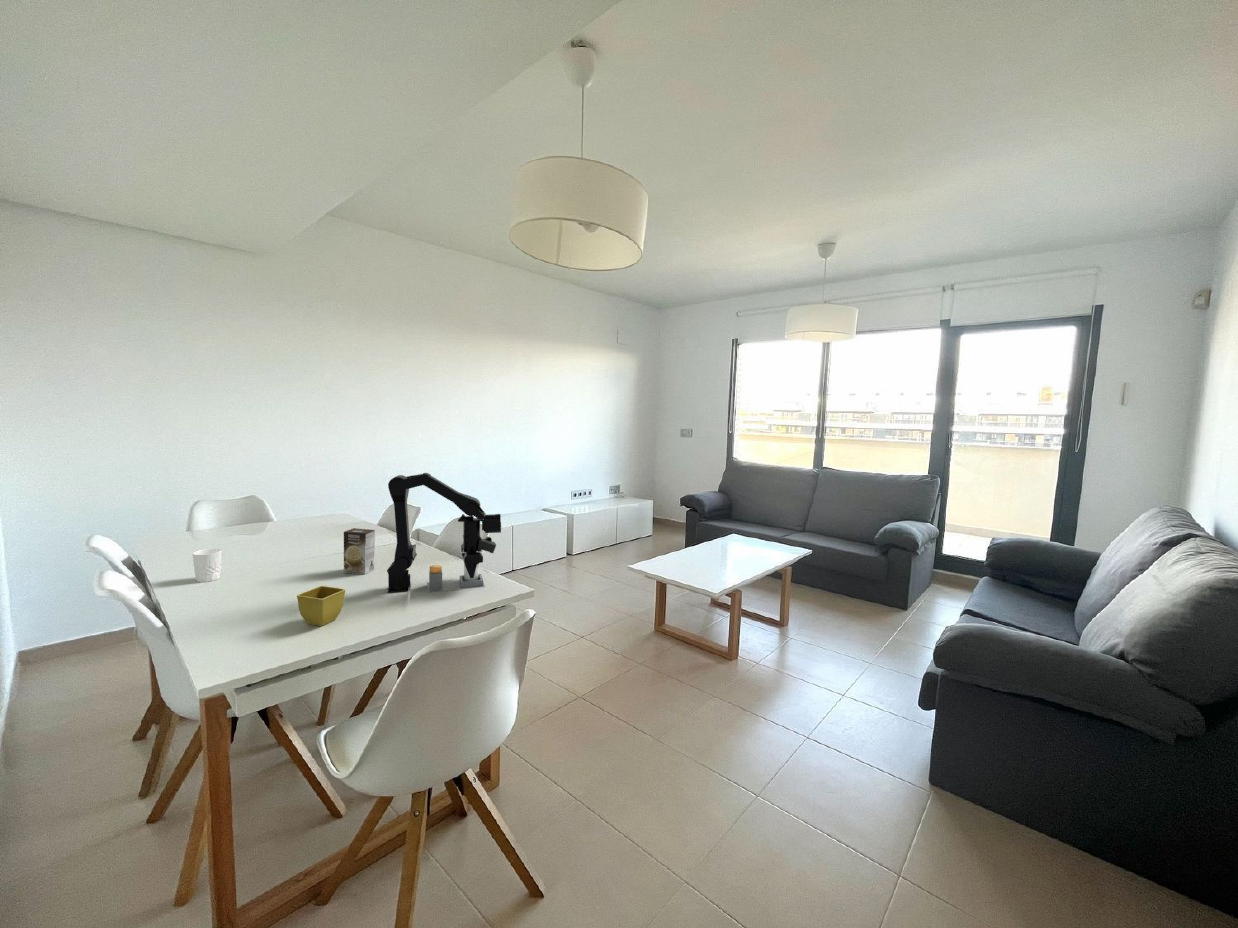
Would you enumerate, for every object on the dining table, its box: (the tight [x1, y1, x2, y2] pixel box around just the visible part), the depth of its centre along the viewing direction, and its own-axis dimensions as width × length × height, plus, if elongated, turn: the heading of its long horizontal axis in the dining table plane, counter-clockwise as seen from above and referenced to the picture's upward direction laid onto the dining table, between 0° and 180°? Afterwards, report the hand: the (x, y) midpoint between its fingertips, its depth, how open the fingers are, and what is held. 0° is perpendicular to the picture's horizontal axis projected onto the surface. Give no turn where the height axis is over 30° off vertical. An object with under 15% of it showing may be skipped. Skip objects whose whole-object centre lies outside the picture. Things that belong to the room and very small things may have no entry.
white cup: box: [192, 548, 223, 583], centre depth 170 cm, size 8×8×10 cm
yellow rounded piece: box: [429, 564, 443, 573], centre depth 168 cm, size 4×4×6 cm
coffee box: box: [343, 527, 376, 575], centre depth 184 cm, size 9×6×16 cm
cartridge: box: [463, 563, 480, 581], centre depth 172 cm, size 5×5×9 cm
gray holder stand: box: [426, 570, 486, 593], centre depth 171 cm, size 19×10×6 cm, turn 112°
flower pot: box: [296, 585, 346, 627], centre depth 138 cm, size 9×9×9 cm
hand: (471, 575), depth 173 cm, fingers closed on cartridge, 5 cm apart
